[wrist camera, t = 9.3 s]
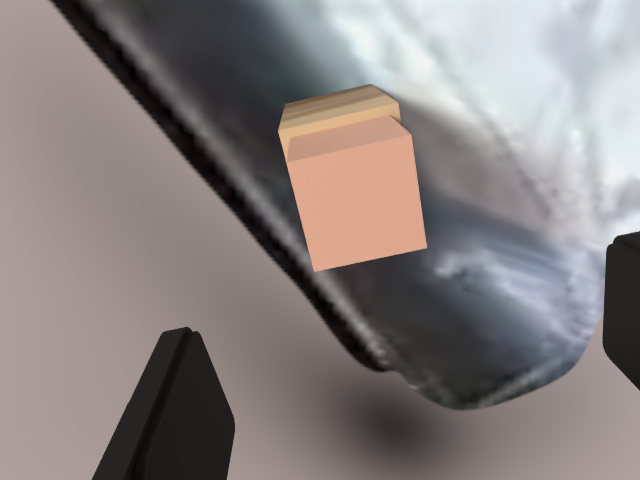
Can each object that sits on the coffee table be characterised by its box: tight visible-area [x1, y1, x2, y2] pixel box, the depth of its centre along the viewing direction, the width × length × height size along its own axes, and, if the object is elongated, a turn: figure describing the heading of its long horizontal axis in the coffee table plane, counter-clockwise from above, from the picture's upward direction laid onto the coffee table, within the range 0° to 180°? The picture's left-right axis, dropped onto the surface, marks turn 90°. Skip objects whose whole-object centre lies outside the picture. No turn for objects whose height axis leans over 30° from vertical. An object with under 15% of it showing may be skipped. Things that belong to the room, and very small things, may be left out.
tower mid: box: [278, 92, 402, 162], centre depth 26 cm, size 6×6×5 cm
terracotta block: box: [287, 115, 427, 272], centre depth 21 cm, size 5×5×5 cm
